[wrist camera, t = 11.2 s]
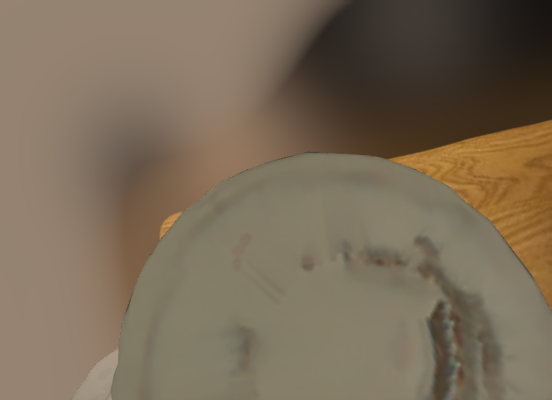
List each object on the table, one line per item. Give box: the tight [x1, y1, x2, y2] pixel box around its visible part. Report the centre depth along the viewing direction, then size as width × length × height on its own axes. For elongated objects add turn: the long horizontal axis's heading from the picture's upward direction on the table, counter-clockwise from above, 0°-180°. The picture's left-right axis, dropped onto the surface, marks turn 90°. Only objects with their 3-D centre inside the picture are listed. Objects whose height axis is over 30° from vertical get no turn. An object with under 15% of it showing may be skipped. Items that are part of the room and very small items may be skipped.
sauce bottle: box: [111, 152, 552, 400], centre depth 12 cm, size 7×6×20 cm
